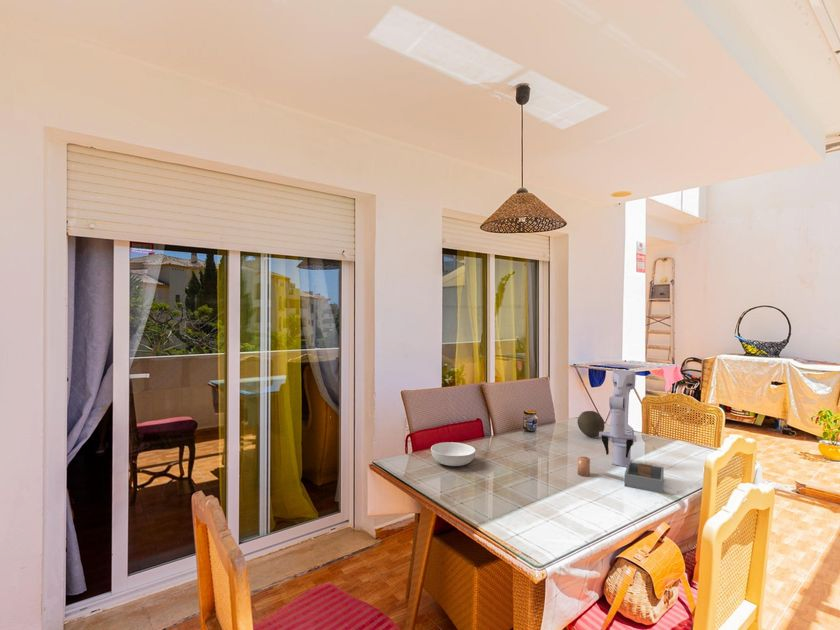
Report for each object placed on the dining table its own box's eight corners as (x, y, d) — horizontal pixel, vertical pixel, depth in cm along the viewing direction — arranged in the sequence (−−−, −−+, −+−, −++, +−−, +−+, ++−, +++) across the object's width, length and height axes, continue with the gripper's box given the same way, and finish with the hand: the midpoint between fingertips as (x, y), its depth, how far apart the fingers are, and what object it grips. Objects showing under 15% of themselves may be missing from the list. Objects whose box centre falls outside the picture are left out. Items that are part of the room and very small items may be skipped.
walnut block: (638, 474, 186) (638, 463, 186) (651, 476, 184) (652, 465, 184) (637, 478, 182) (637, 466, 182) (651, 480, 179) (651, 468, 179)
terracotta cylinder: (578, 471, 192) (578, 455, 192) (590, 473, 189) (590, 457, 189) (576, 475, 188) (576, 459, 187) (588, 477, 185) (588, 461, 185)
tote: (628, 472, 191) (628, 461, 191) (663, 479, 184) (663, 467, 184) (624, 486, 176) (624, 473, 176) (662, 493, 169) (662, 480, 169)
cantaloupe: (585, 432, 256) (586, 407, 256) (608, 438, 245) (609, 411, 245) (572, 436, 247) (573, 410, 247) (596, 442, 236) (596, 415, 236)
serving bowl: (470, 473, 188) (470, 458, 188) (424, 467, 195) (425, 452, 195) (479, 458, 207) (479, 444, 207) (437, 453, 214) (438, 439, 214)
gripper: (598, 423, 185) (597, 455, 185) (635, 428, 178) (635, 461, 178) (600, 420, 191) (599, 450, 191) (636, 424, 184) (636, 456, 184)
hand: (617, 455), depth 185 cm, fingers open, 7 cm apart
